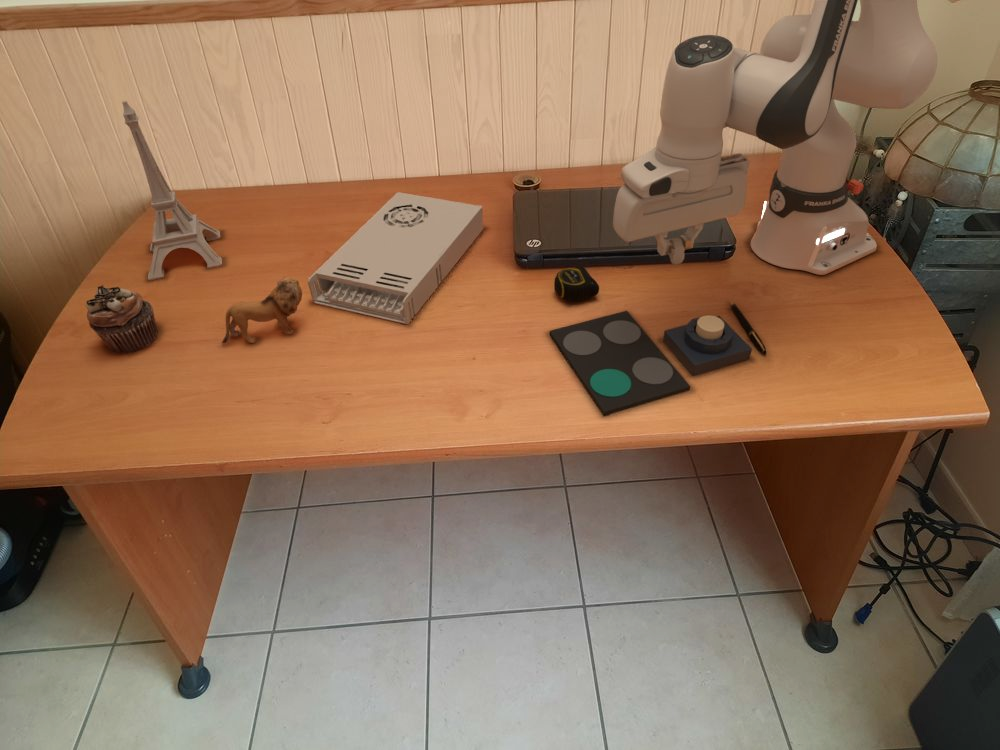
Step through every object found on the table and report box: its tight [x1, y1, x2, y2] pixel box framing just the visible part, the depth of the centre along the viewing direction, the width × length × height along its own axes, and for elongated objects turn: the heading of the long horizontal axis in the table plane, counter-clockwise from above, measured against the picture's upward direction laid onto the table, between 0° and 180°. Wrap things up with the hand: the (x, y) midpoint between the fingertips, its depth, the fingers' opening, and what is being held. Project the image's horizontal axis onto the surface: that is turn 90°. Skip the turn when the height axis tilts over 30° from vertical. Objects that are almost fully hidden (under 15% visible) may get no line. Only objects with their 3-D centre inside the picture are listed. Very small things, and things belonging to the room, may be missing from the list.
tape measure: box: [553, 264, 600, 302], centre depth 120 cm, size 7×7×4 cm
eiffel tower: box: [121, 100, 223, 282], centre depth 126 cm, size 13×13×30 cm
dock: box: [662, 315, 753, 377], centre depth 108 cm, size 10×9×4 cm
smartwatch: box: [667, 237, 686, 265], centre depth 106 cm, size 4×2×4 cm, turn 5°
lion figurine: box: [221, 276, 303, 344], centre depth 114 cm, size 15×5×9 cm, turn 116°
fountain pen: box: [729, 300, 767, 355], centre depth 112 cm, size 14×1×2 cm, turn 8°
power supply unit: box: [307, 191, 485, 325], centre depth 129 cm, size 19×33×5 cm, turn 158°
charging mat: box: [549, 310, 691, 416], centre depth 108 cm, size 14×20×1 cm
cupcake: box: [85, 284, 159, 354], centre depth 114 cm, size 10×10×10 cm
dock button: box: [696, 314, 724, 340], centre depth 106 cm, size 4×4×2 cm
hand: (674, 250), depth 106 cm, fingers closed on smartwatch, 2 cm apart
